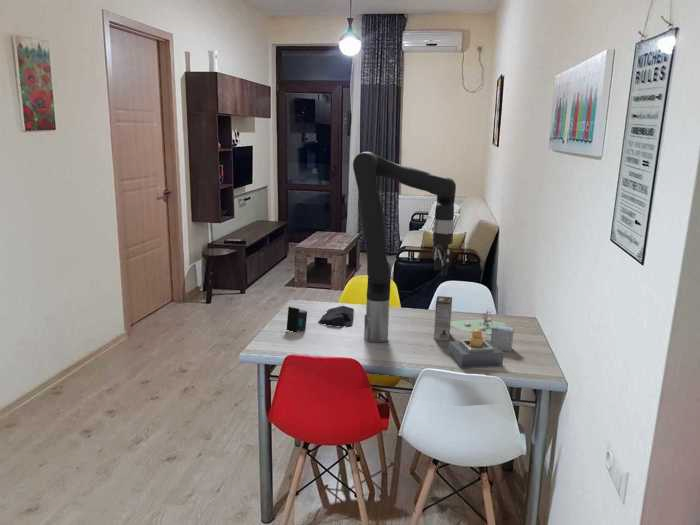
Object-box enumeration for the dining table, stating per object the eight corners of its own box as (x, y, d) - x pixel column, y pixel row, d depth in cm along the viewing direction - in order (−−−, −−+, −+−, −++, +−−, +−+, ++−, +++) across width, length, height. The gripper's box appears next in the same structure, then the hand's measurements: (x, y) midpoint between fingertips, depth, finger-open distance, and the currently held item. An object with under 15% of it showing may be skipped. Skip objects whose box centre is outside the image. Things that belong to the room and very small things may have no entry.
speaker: (293, 334, 230) (295, 309, 229) (286, 330, 235) (287, 306, 233) (308, 332, 235) (310, 308, 234) (300, 329, 240) (302, 305, 238)
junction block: (461, 367, 202) (462, 351, 201) (448, 353, 214) (449, 338, 213) (502, 365, 205) (503, 349, 204) (487, 352, 217) (488, 336, 216)
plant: (451, 334, 238) (452, 314, 235) (446, 318, 258) (447, 299, 256) (510, 337, 236) (512, 316, 234) (501, 321, 256) (503, 302, 254)
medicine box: (512, 348, 222) (514, 327, 220) (510, 352, 218) (512, 331, 216) (492, 344, 225) (493, 324, 223) (489, 348, 221) (491, 327, 219)
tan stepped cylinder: (472, 349, 206) (473, 333, 204) (467, 344, 211) (468, 328, 209) (484, 349, 207) (486, 332, 205) (479, 344, 211) (480, 328, 210)
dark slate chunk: (358, 313, 262) (359, 303, 260) (350, 329, 240) (351, 318, 239) (326, 310, 264) (326, 301, 263) (316, 326, 243) (316, 315, 242)
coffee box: (434, 331, 238) (436, 295, 235) (449, 333, 237) (452, 296, 234) (433, 339, 230) (435, 301, 226) (449, 340, 228) (451, 303, 225)
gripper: (428, 227, 218) (425, 268, 222) (440, 234, 205) (437, 277, 208) (446, 227, 220) (443, 267, 223) (459, 234, 206) (456, 276, 210)
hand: (440, 272), depth 216 cm, fingers open, 8 cm apart
